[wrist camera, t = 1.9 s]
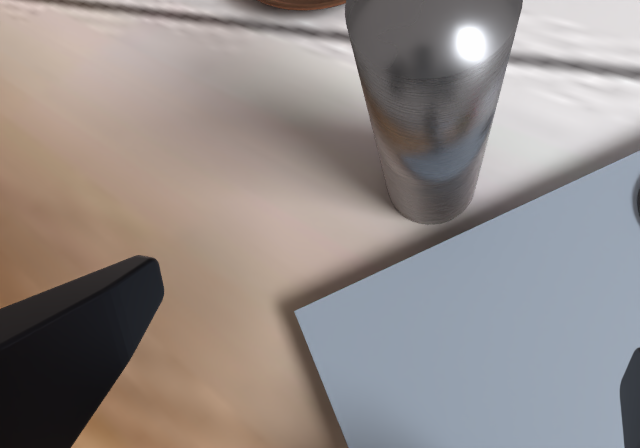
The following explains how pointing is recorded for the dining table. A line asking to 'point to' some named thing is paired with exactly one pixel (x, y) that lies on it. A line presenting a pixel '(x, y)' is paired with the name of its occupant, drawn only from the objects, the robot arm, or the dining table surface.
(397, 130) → the grey metallic rounded cylinder
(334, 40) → the dining table surface
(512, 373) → the flange plate
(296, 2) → the cup and saucer
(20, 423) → the robot arm
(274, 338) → the dining table surface
